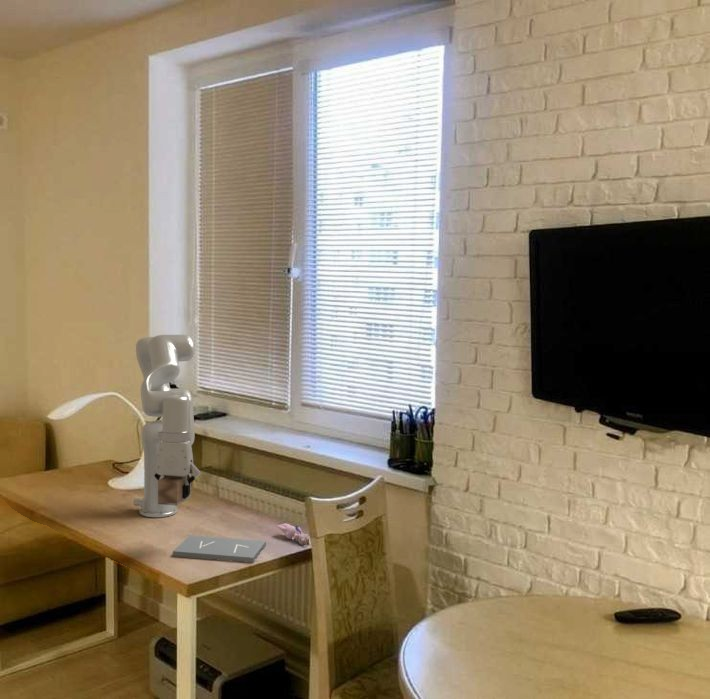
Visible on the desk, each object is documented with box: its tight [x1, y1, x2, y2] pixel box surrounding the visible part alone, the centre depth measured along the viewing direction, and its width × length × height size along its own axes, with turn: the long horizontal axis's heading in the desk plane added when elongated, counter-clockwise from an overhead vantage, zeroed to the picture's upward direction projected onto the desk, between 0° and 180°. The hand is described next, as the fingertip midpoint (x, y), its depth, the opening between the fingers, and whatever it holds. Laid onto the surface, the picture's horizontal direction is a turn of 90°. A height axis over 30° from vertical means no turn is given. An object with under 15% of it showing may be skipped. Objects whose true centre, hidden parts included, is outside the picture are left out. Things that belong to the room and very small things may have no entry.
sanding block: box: [158, 473, 192, 507], centre depth 231 cm, size 6×10×7 cm, turn 168°
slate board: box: [172, 535, 267, 563], centre depth 230 cm, size 24×14×2 cm, turn 82°
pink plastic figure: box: [276, 523, 310, 546], centre depth 242 cm, size 6×6×15 cm
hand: (175, 496), depth 231 cm, fingers closed on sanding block, 6 cm apart
